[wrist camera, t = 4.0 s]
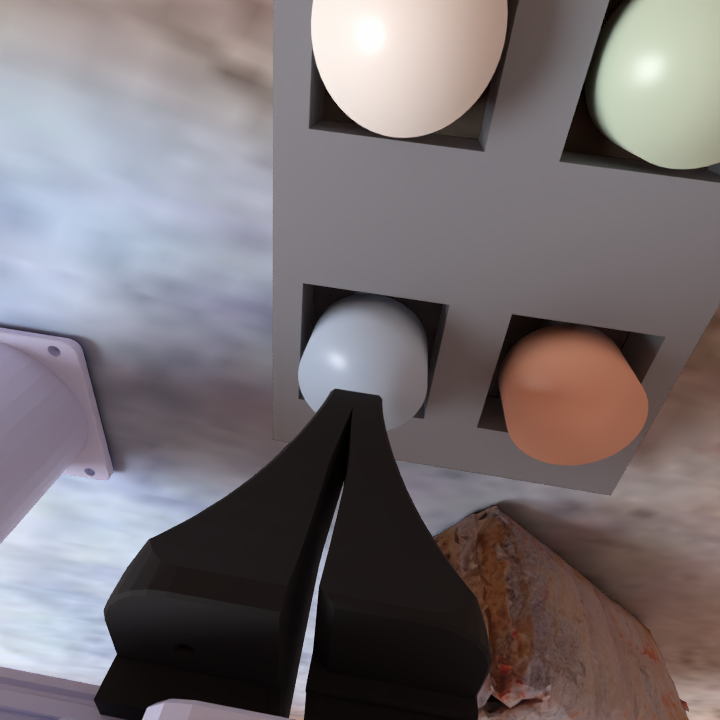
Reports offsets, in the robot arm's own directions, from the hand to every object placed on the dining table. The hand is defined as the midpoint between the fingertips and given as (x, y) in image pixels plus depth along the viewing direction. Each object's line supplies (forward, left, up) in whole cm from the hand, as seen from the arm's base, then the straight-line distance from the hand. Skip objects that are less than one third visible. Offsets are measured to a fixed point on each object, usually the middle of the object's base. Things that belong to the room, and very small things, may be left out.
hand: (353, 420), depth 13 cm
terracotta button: (+7, 0, -4) cm, 8 cm away
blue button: (0, 0, -4) cm, 4 cm away
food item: (+10, -14, -6) cm, 18 cm away
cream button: (0, +9, -4) cm, 10 cm away
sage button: (+7, +9, -5) cm, 12 cm away
